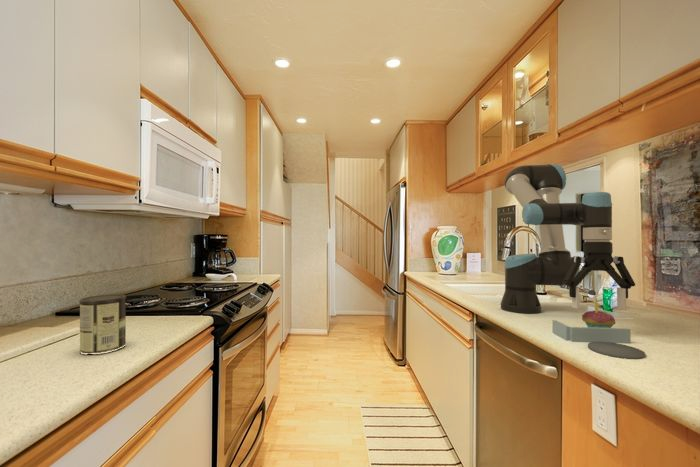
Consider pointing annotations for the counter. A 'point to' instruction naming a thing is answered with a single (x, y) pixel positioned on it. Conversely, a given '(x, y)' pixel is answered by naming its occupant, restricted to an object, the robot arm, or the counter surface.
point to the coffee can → (102, 323)
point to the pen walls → (591, 333)
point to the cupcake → (598, 318)
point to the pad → (616, 350)
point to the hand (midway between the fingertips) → (598, 308)
